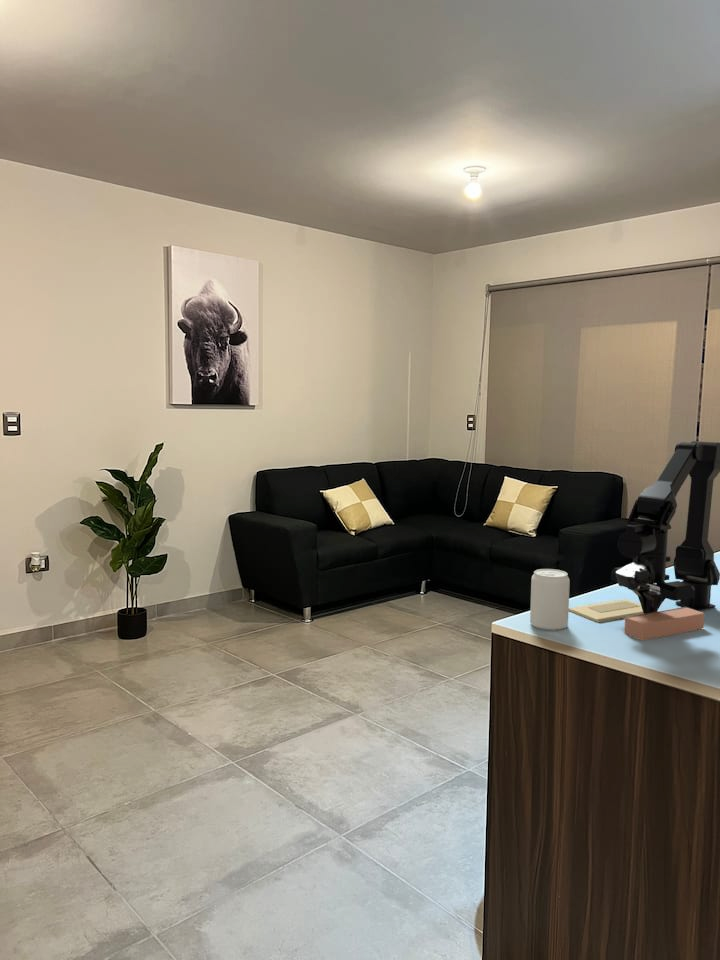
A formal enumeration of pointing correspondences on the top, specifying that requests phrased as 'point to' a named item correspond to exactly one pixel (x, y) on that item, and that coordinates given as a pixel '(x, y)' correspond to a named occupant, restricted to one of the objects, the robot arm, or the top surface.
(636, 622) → the pink long block
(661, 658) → the top surface
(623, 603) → the tan rectangular slab
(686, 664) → the top surface
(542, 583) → the beverage can
